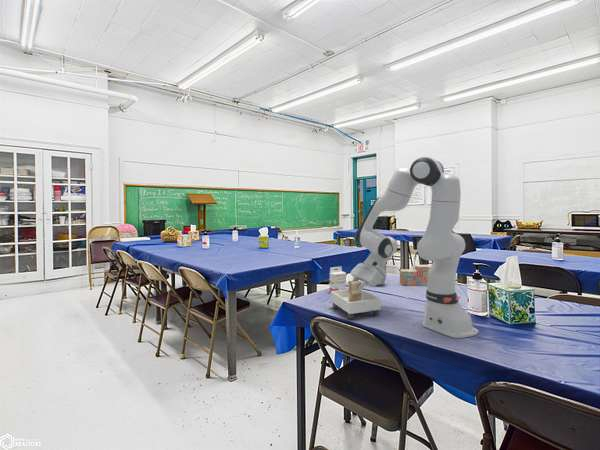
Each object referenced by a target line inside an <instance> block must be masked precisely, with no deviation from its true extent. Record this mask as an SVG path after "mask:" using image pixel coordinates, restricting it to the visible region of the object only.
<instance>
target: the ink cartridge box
mask: <svg viewBox="0 0 600 450" xmlns="http://www.w3.org/2000/svg"><path fill="white" fill-rule="evenodd" d="M342 268H343V266H342V265H341V266H334V267H330V268H329V293H331V291H339V290H347V272H345V271H343V269H342Z"/></svg>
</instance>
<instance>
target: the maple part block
mask: <svg viewBox="0 0 600 450" xmlns="http://www.w3.org/2000/svg"><path fill="white" fill-rule="evenodd" d="M360 284H362V281H360V280H358V281H357V280H354V281H353V280H348V284H347V285H348V301H349V302H357V301H361V290H360V289H358V288H357V287H358V285H360Z"/></svg>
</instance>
